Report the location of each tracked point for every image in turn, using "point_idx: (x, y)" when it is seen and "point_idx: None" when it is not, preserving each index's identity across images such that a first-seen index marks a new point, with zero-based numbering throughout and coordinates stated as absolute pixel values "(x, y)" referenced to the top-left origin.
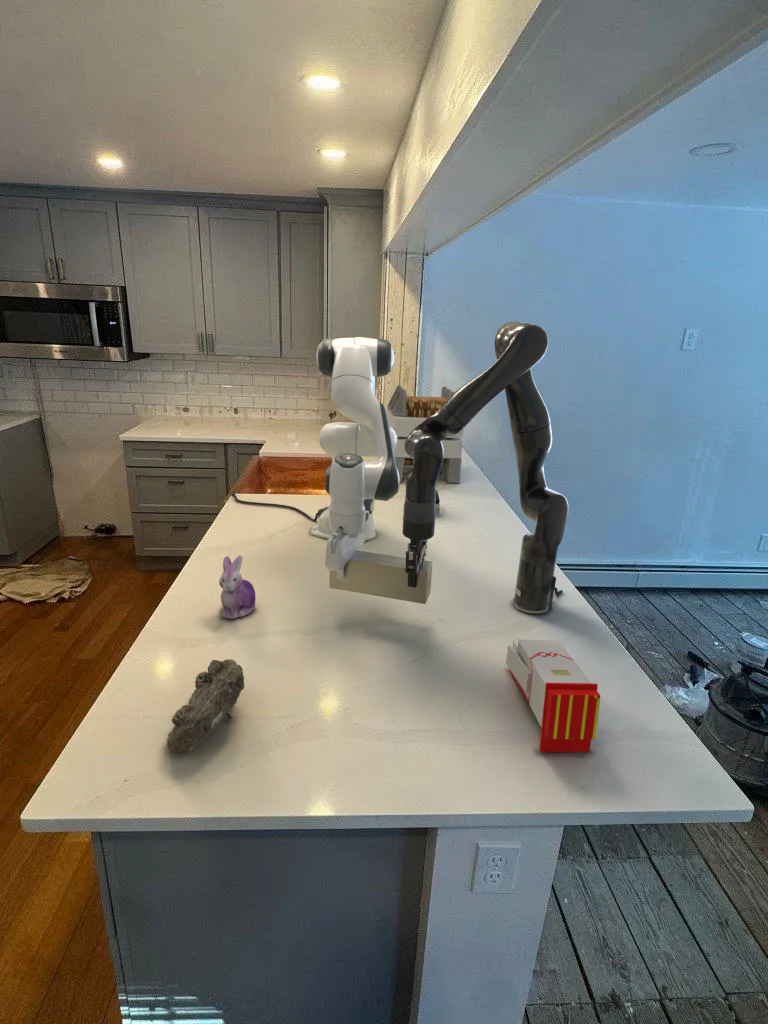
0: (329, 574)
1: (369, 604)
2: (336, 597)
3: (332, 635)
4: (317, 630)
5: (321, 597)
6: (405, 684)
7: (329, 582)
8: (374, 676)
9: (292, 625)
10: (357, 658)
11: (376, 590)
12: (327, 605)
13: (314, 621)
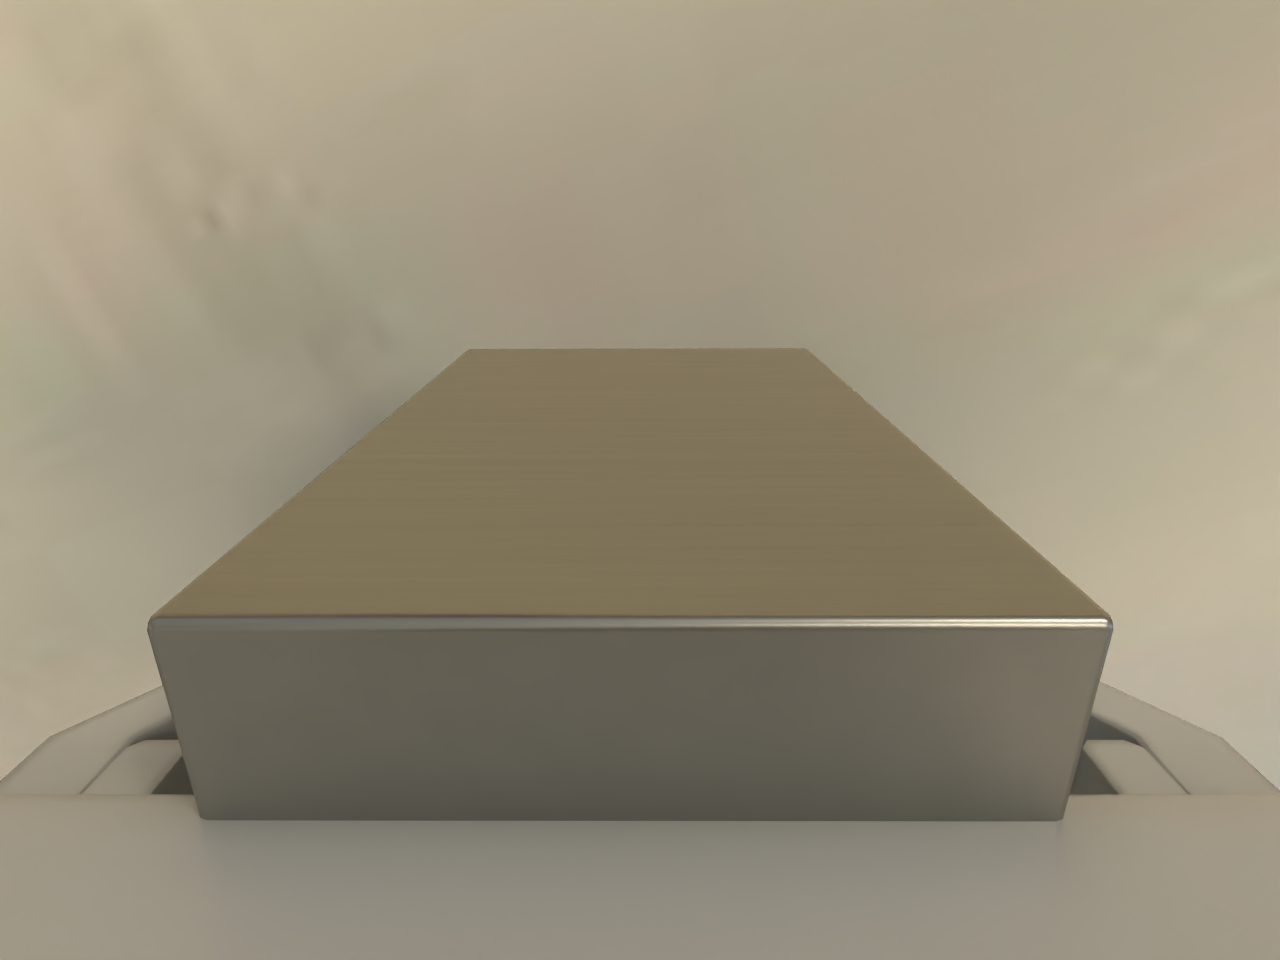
0: (397, 409)
1: None
2: (898, 230)
3: (262, 435)
4: (264, 288)
5: (860, 68)
6: None
7: (445, 370)
8: None
9: (215, 6)
10: (104, 679)
11: None
12: (714, 202)
13: (386, 198)
